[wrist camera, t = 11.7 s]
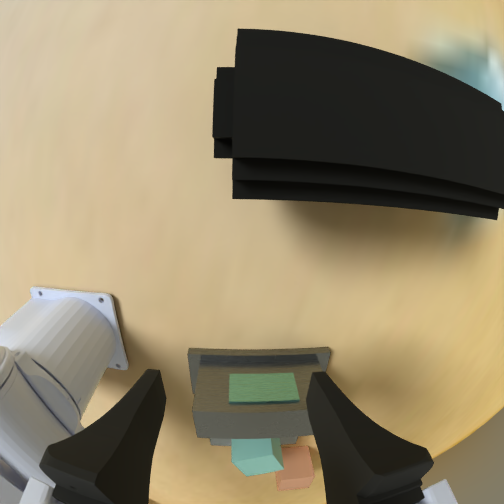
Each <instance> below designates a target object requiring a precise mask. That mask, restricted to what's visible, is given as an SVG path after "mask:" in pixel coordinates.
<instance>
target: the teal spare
mask: <svg viewBox="0 0 504 504" xmlns="http://www.w3.org/2000/svg"><path fill="white" fill-rule="evenodd" d="M232 463H233V464H234V465H235V466H236V467H237V468H238V469H239V470H240V471H241V472H242V473H244V474H245V475H246V476H252V475H258V474H264V473H269V472H274V471H279V470H284V465H283V458H282V451H281V444H280V438H266V439H232Z"/></svg>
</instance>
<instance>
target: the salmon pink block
mask: <svg viewBox="0 0 504 504" xmlns="http://www.w3.org/2000/svg"><path fill="white" fill-rule="evenodd" d="M281 451H282V458H283V465H284V470H279V471H275V473H276V481H277V489H278V491H282V490H293V489H301V488H309V486H310V485H311V483H312V481H313V479H314V477H315V474H314V469H313V465H312V460H311V456H310V451H309V447H308V446H300V447H289V448H281Z"/></svg>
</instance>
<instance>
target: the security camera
mask: <svg viewBox="0 0 504 504" xmlns="http://www.w3.org/2000/svg"><path fill="white" fill-rule="evenodd" d="M212 137H213V138H214V158H233V164H232V180H233V195H232V199H264V200H294V201H316V202H334V203H349V204H363V205H376V206H387V207H398V208H408V209H418V210H427V211H435V212H444V213H452V214H459V215H466V216H473V217H480V218H487V219H493V220H497V218H498V211H499V208H501V209H504V111H503V110H502V106H501V103H499V102H498V101H496V100H495V99H493V98H491V97H489V96H488V95H486V94H484V93H483V92H481V91H479V90H477V89H475V88H473V87H472V86H470V85H468V84H466V83H464V82H462V81H460V80H458V79H456V78H454V77H451V76H449V75H447V74H445V73H443V72H440V71H438V70H436V69H433V68H431V67H429V66H426V65H424V64H421V63H418V62H416V61H413V60H410V59H407V58H405V57H402V56H399V55H396V54H393V53H389V52H386V51H383V50H379V49H376V48H372V47H369V46H365V45H361V44H357V43H353V42H348V41H344V40H339V39H334V38H329V37H323V36H317V35H310V34H303V33H295V32H286V31H275V30H260V29H238V34H237V44H236V53H235V67H217V78H216V79H215V81H214V104H213V135H212Z"/></svg>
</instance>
